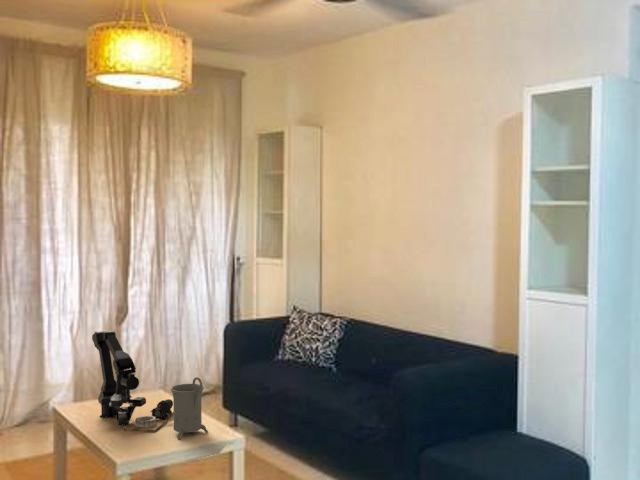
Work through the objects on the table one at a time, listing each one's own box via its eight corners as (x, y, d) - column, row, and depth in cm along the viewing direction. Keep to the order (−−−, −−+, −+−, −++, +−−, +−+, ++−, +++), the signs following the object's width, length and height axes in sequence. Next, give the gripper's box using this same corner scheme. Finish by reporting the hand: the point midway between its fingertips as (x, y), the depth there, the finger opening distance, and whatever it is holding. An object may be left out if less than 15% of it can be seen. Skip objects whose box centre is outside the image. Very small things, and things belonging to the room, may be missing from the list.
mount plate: (123, 430, 283) (123, 422, 283) (137, 420, 297) (137, 413, 297) (154, 432, 281) (154, 424, 281) (167, 422, 295) (167, 414, 295)
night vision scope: (168, 416, 312) (184, 403, 311) (154, 429, 294) (171, 415, 293) (157, 403, 312) (173, 390, 311) (143, 415, 294) (160, 401, 293)
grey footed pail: (161, 433, 280) (160, 374, 279) (190, 425, 291) (190, 368, 290) (186, 443, 267) (186, 381, 266) (216, 435, 278) (216, 375, 277)
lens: (116, 425, 291) (116, 409, 290) (121, 422, 295) (120, 406, 295) (126, 425, 290) (126, 410, 290) (131, 422, 295) (130, 407, 294)
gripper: (94, 389, 285) (94, 425, 286) (135, 390, 283) (136, 427, 283) (106, 382, 296) (106, 417, 297) (146, 384, 294) (146, 419, 294)
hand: (123, 420), depth 293 cm, fingers closed on lens, 5 cm apart
